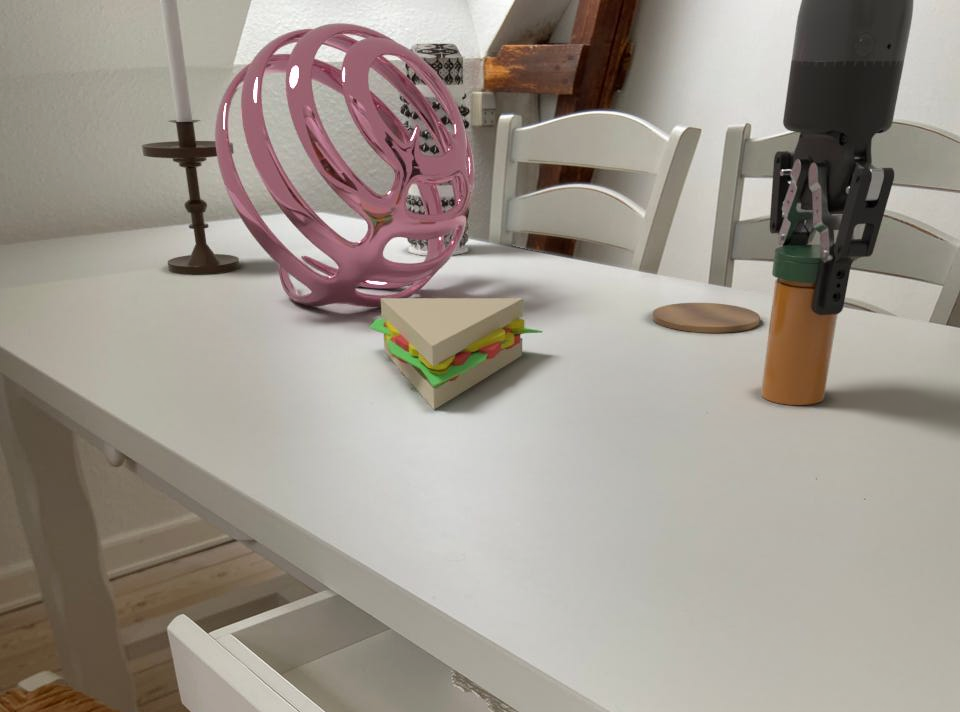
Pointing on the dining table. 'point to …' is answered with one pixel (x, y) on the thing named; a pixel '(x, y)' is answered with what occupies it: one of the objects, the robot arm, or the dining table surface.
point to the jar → (797, 346)
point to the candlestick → (187, 155)
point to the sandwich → (450, 340)
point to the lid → (797, 263)
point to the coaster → (706, 317)
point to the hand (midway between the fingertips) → (807, 303)
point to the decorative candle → (451, 72)
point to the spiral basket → (384, 137)
